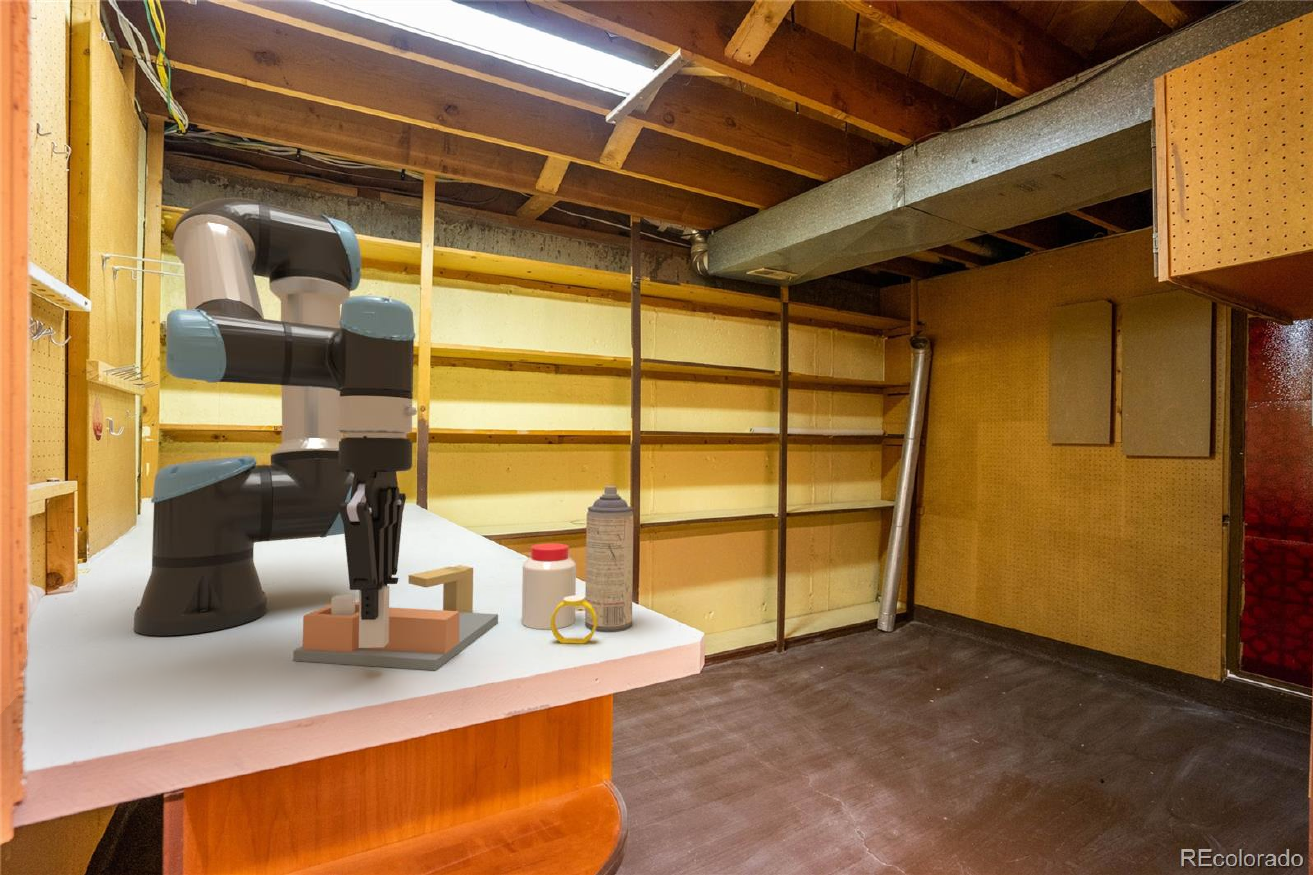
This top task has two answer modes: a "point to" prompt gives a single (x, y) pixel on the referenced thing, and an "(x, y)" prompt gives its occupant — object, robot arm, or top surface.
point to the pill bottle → (548, 586)
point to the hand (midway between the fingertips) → (373, 645)
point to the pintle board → (470, 628)
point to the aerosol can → (609, 562)
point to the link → (405, 630)
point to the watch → (573, 602)
